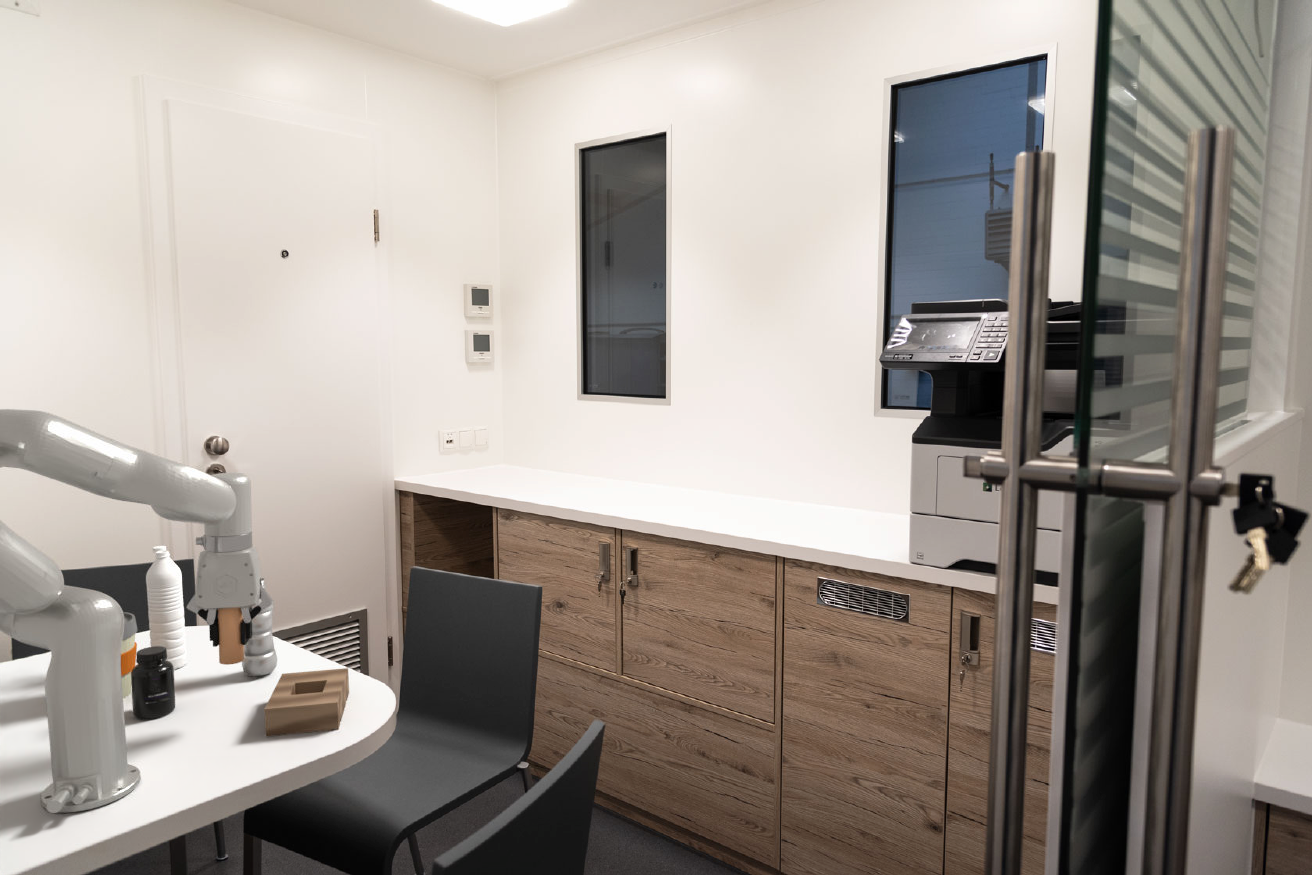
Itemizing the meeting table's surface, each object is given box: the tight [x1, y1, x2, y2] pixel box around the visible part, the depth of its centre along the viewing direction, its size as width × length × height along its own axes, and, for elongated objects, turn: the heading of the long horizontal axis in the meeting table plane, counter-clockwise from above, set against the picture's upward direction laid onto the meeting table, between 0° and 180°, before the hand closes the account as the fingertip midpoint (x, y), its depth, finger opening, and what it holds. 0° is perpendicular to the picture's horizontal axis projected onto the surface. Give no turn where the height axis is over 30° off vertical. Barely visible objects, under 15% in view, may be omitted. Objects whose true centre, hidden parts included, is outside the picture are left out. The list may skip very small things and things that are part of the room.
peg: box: [218, 608, 244, 665], centre depth 149 cm, size 4×4×12 cm
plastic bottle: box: [241, 577, 278, 677], centre depth 172 cm, size 6×7×20 cm
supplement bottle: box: [131, 646, 176, 721], centre depth 154 cm, size 7×7×12 cm
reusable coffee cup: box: [121, 611, 138, 699], centre depth 161 cm, size 13×13×15 cm
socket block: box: [263, 667, 350, 737], centre depth 154 cm, size 16×12×5 cm
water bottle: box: [145, 545, 188, 671], centre depth 176 cm, size 9×6×25 cm
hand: (231, 642), depth 149 cm, fingers closed on peg, 4 cm apart
